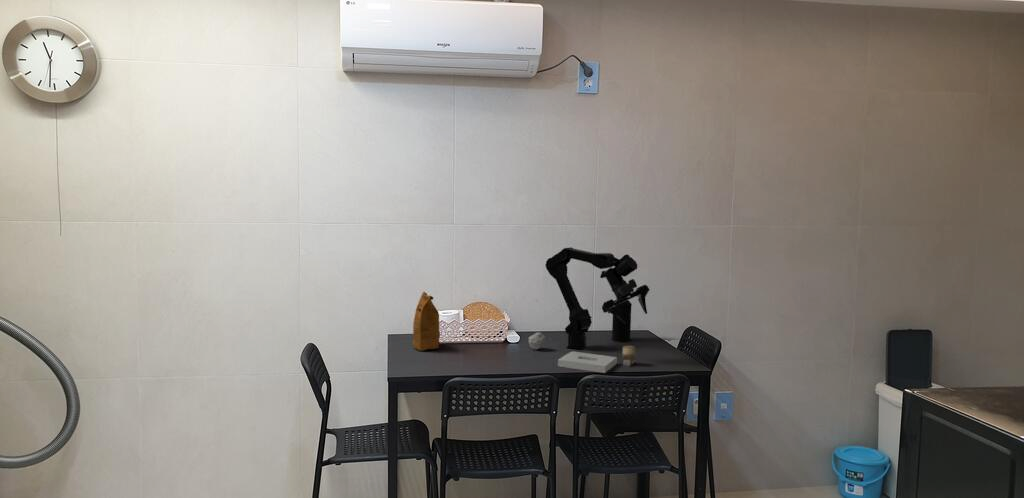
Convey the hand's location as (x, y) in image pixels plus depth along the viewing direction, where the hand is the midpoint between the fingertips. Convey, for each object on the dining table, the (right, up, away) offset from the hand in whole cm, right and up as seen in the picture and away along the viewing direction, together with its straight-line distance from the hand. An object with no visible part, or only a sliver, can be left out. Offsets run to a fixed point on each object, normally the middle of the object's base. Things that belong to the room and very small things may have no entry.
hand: (635, 318), depth 271 cm
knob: (-3, -17, -3) cm, 17 cm away
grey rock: (-37, -14, +16) cm, 43 cm away
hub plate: (-19, -17, -6) cm, 26 cm away
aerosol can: (0, -13, +35) cm, 37 cm away
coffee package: (-81, -13, +16) cm, 84 cm away
